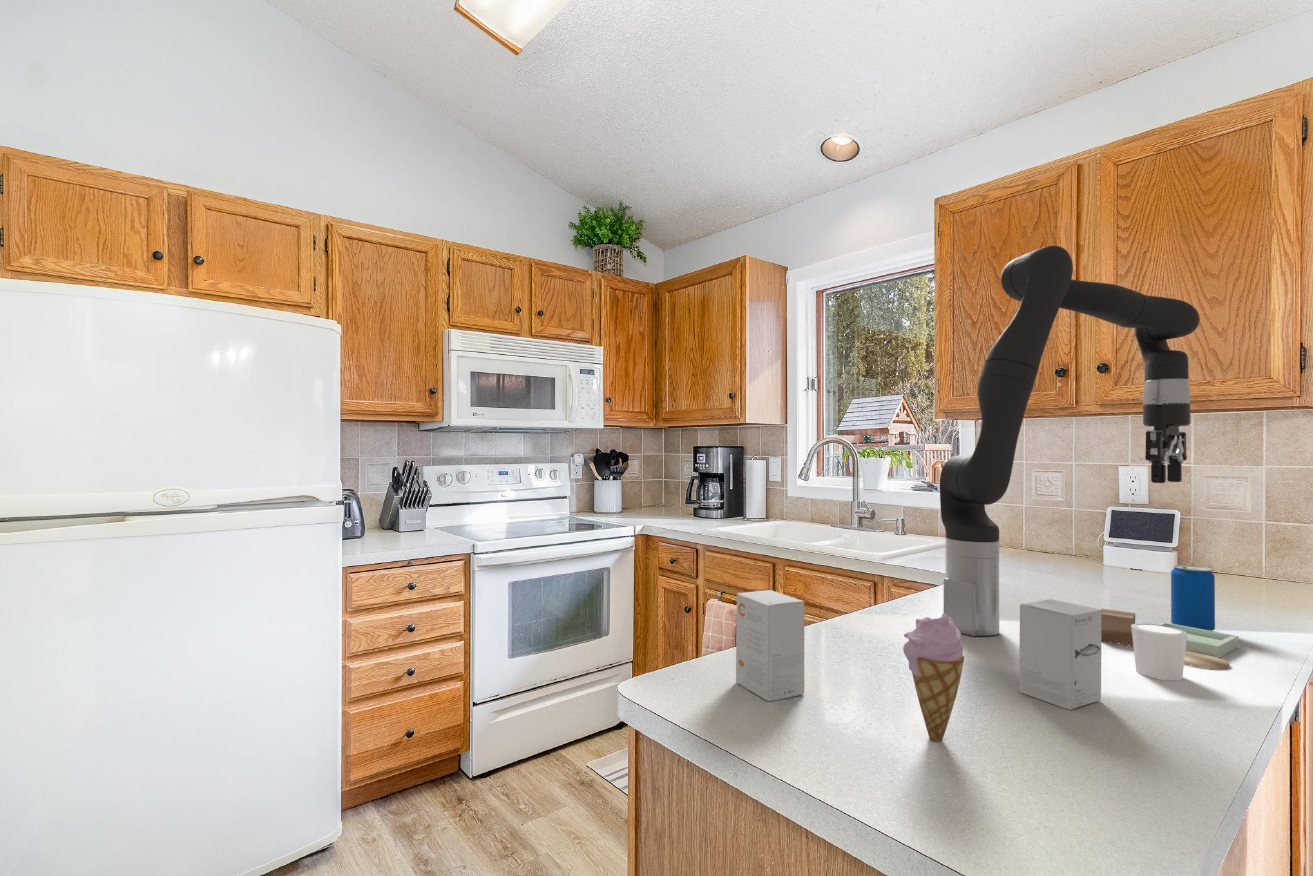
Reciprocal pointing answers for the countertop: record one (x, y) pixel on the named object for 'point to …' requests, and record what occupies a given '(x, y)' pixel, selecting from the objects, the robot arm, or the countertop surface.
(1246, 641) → the countertop surface
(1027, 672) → the supplement box
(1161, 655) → the white cup
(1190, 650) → the tray
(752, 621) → the small box
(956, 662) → the ice cream cone
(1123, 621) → the walnut block
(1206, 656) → the cork coaster
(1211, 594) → the beverage can
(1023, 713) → the countertop surface
